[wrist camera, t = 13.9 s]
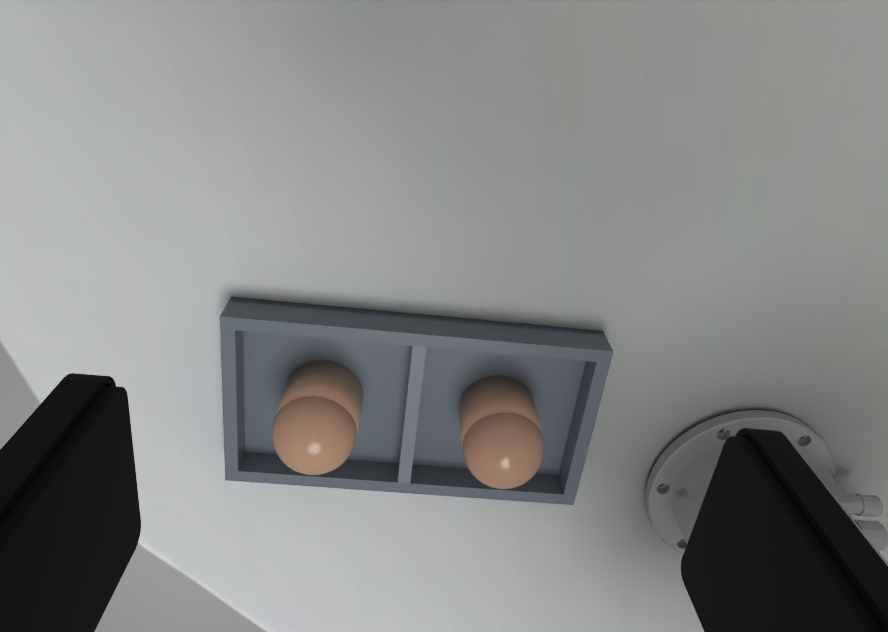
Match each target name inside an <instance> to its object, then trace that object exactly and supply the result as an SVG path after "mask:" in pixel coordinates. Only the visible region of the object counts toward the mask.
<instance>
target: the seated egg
mask: <svg viewBox="0 0 888 632" xmlns="http://www.w3.org/2000/svg"><path fill="white" fill-rule="evenodd" d="M459 419H460V431H461V442H462V453H463V458H464V461H465V463H466V465H467V467H468V469H469V471H470V472H471V473H472V475H473V476H474V477H475V478H477V479H478V480H479V481H480V482H482V483H483V484H485V485H487V486H490V487H493V488H498V489H510V488H515V487H518V486H520V485H522V484H524V483H526V482H527V481H529V480H530V479H531V478H532V477H533V476H534V475H535V474H536V472H537V471H538V469H539V468H540V466H541V464H542V460H543V457H544V449H545V447H544V439H543V434H542V430H541V427H540V423H539V419H538V415H537V411H536V408H535V404H534V400H533V397H532V394H531V392H530V391H529V389H528V388H527V387H526V386H525V385H524V384H523V383H521V382H520V381H518V380H516V379H514V378H511V377H508V376H489V377H485V378H482V379H480V380H478V381H476V382H474V383H473V384H472V385H470V386H469V387H468V388H467V389H466V390H465V392H464V393H463V395H462V397H461V399H460V402H459Z"/></svg>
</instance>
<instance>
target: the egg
mask: <svg viewBox="0 0 888 632" xmlns="http://www.w3.org/2000/svg"><path fill="white" fill-rule="evenodd" d="M362 403H363V389H362V385H361V383H360V381H359V379H358V378H357V376H356V375H355V374H354V373H353V372H352V371H351V370H349V369H348V368H346V367H345V366H343V365H341V364H338V363H336V362H332V361H313V362H309V363H306V364H304V365H302V366H300V367H299V368H297V369H296V370H295V371H294V372H293V373H292V375H291V376H290V378H289V380H288V382H287V385H286V387H285V390H284V393H283V396H282V399H281V401H280V404H279V407H278V410H277V413H276V416H275V418H274V422H273V426H272V441H273V445H274V449H275V451H276V453H277V455H278V456H279V458H280V459H281V460H282V462H283V463H284V464H286V465H287V466H288V467H289V468H291V469H292V470H294V471H296V472H299V473H302V474H307V475H320V474H324V473H328V472H330V471H332V470H334V469H336V468H338V467H339V466H340V465H342V464H343V463H344V462H345V461H346V460H347V459H348V457H349V456H350V454H351V453H352V451H353V449H354V447H355V443H356V440H357V434H358V428H359V421H360V415H361V409H362Z"/></svg>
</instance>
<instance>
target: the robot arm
mask: <svg viewBox="0 0 888 632" xmlns="http://www.w3.org/2000/svg"><path fill="white" fill-rule="evenodd" d="M834 477H835V468H834V463H833V459H832V455H831V454H830V452H829V450H828V448H827V446H826V444H825V443H824V442H823V441H822V439H821V438H820V437H819V436H818V435H817V434H816V432H815V431H813V430H812V429H811V428H810V427H809V426H807V425H806V424H805V423H804V422H802V421H800V420H798V419H796V418H794V417H792V416H789V415H786V414H782V413H778V412H775V411H763V410H750V411H738V412H733V413H729V414H725V415H721V416H718V417H715V418H713V419H710V420H708V421H705V422H702V423H701V424H699V425H697V426H695V427H694V428H692V429H690V430H688V431H687V432H685V433H684V434H683V435H681V436H680V437H679V438H678V439H676V440H675V441H674V442H672V443H671V444H670V446H669V447H668V448H667V449H666V450H665V451H664V452H663V453H662V454H661V455H660V457H659V459H658V460H657V462H656V463H655V465H654V467H653V468H652V470H651V473H650V476H649V478H648V481H647V485H646V493H645V500H646V509H647V512H648V514H649V517H650V520H651V522H652V524H653V526H654V528H655V530H656V532H657V534H658V535H659V536H660V537H661V538H662V539H663V540H664V541H665V542H666V544H668V545H669V546H671V547H672V548H673V549H675V550H676V551H678V552H681V553H683V557H682V561H681V574H682V579H683V582H684V585H685V587H686V589H687V592H688V594H689V596H690V599H691V601H692V603H693V606H694V608H695V610H696V613H697V615H698V617H699V620H700V622H701V624H702V627H703V629H704V631H705V632H888V563H887V561H886V560H885V559H884V558H883V556H882V555H881V554H880V552H879V550H883V549H884V548H885V546H886V545H887V539H888V538H887V532H886V530H885V528H884V526H883V525H882V524H881V523H880V522H878V521H864V520H853V518H852V517H851V516H850V514H856V515H859V516H873V517H877V516H879V515H880V514H881V513H882V509H883V507H882V502H881V500H880V498H878V497H877V496H874V495H861V494H856V495H848V494H847V493H846V492H845V491H844V490H843V489H842V488H841V487H840V486H839V484H838V483H837V482H836V481H835V479H834ZM140 530H141V519H140V510H139V500H138V491H137V481H136V472H135V462H134V453H133V444H132V434H131V425H130V415H129V406H128V397H127V392H126V390H125V388H123V387H116V385H115V382H114V380H113V378H111V377H110V376H98V375H86V374H73V373H72V374H68V375H67V376H66V377H64V378H63V380H62V381H61V382H60V383H59V384H58V385H57V386H56V387H55V389H54V390H53V391H52V392H51V393H50V394H49V395H48V397H47V398H46V399H45V400H44V401H43V402H42V403H41V404H40V406H39V407H38V408H37V409H36V410H35V411H34V412H33V414H32V415H31V416H30V417H29V418H28V419H27V420H26V422H25V423H24V424H23V425H22V426H21V427H20V428H19V429H18V431H17V432H16V433H15V434H14V435H13V436H12V437H11V438H10V440H9V441H8V442H7V443H6V444H5V445H4V446H3V448H2V449H1V450H0V632H94V631H95V629H96V627H97V625H98V623H99V621H100V619H101V617H102V615H103V613H104V611H105V609H106V607H107V605H108V603H109V601H110V599H111V597H112V595H113V593H114V591H115V589H116V587H117V585H118V583H119V581H120V579H121V577H122V575H123V573H124V571H125V569H126V566H127V565H128V563H129V561H130V558H131V557H132V555H133V553H134V551H135V549H136V546H137V544H138V540H139V536H140Z"/></svg>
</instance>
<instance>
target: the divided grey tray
mask: <svg viewBox="0 0 888 632" xmlns="http://www.w3.org/2000/svg"><path fill="white" fill-rule="evenodd" d="M220 329H221V360H222V391H223V422H224V453H225V480H230V481H244V482H258V483H272V484H286V485H300V486H314V487H329V488H343V489H357V490H371V491H385V492H399V493H413V494H427V495H441V496H455V497H470V498H484V499H498V500H512V501H526V502H540V503H554V504H568V505H573V504H574V500H575V496H576V493H577V489H578V485H579V481H580V477H581V473H582V470H583V466H584V462H585V458H586V454H587V450H588V446H589V443H590V439H591V435H592V431H593V427H594V423H595V419H596V416H597V412H598V408H599V404H600V400H601V396H602V393H603V389H604V385H605V381H606V377H607V373H608V369H609V366H610V362H611V358H612V354H613V350H612V348H611V346H610V344H609V342H608V340H607V338H606V336H605V334H604V332H603V331H595V330H584V329H573V328H562V327H551V326H540V325H529V324H518V323H507V322H496V321H485V320H474V319H463V318H452V317H441V316H430V315H419V314H408V313H398V312H387V311H376V310H365V309H354V308H343V307H332V306H321V305H310V304H299V303H288V302H277V301H266V300H255V299H244V298H233V297H231V299H230V300H229V302H228V304H227V305H226V307H225V309H224V311H223V312H222V314H221V316H220ZM313 361H332V362H336V363H338V364H341V365H343V366H345V367H346V368H348V369H349V370H351V371H352V372H353V373H354V374H355V375H356V376H357V378H358V379H359V381H360V383H361V385H362V389H363V403H362V409H361V415H360V421H359V428H358V434H357V440H356V443H355V447H354V449H353V451H352V453H351V454H350V456H349V457H348V459H347V460H346V461H345V462H344V463H343V464H342V465H340V466H339V467H338V468H336V469H334V470H332V471H330V472H328V473H324V474H320V475H307V474H302V473H299V472H296V471H294V470H292V469H291V468H289V467H288V466H287V465H286V464H284V463H283V462H282V460H281V459H280V458H279V456H278V455H277V453H276V451H275V449H274V445H273V441H272V426H273V422H274V418H275V416H276V413H277V410H278V407H279V404H280V401H281V399H282V396H283V393H284V390H285V387H286V385H287V382H288V380H289V378H290V376H291V375H292V373H293V372H294V371H295V370H296V369H297V368H299V367H300V366H302V365H304V364H306V363H309V362H313ZM489 376H508V377H511V378H514V379H516V380H518V381H520V382H521V383H523V384H524V385H525V386H526V387H527V388H528V389H529V391H530V392H531V394H532V397H533V400H534V404H535V408H536V411H537V415H538V419H539V423H540V427H541V430H542V434H543V439H544V447H545V449H544V457H543V460H542V464H541V466H540V468H539V469H538V471H537V472H536V474H535V475H534V476H533V477H532V478H531V479H530V480H529V481H527V482H526V483H524V484H522V485H520V486H518V487H515V488H510V489H498V488H493V487H490V486H487V485H485V484H483V483H482V482H480V481H479V480H478V479H477V478H475V477H474V476H473V475H472V473H471V472H470V471H469V469H468V467H467V465H466V463H465V461H464V458H463V453H462V442H461V431H460V419H459V402H460V399H461V397H462V395H463V393H464V392H465V390H466V389H467V388H468V387H469V386H470V385H472V384H473V383H474V382H476V381H478V380H480V379H482V378H485V377H489Z"/></svg>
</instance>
